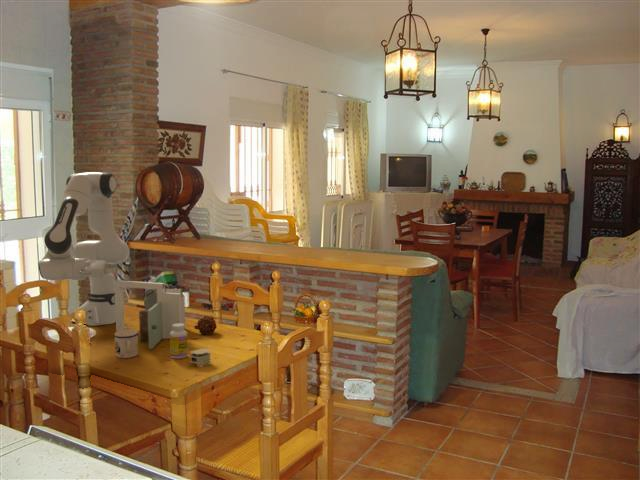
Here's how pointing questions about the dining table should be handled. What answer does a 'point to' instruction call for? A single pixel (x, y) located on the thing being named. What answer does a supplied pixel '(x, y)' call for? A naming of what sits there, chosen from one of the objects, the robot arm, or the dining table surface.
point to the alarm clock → (150, 298)
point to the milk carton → (181, 302)
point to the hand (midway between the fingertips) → (116, 268)
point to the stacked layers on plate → (200, 357)
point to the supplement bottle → (178, 341)
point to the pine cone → (206, 325)
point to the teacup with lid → (126, 343)
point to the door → (155, 324)
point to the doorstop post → (143, 326)
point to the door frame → (168, 300)
